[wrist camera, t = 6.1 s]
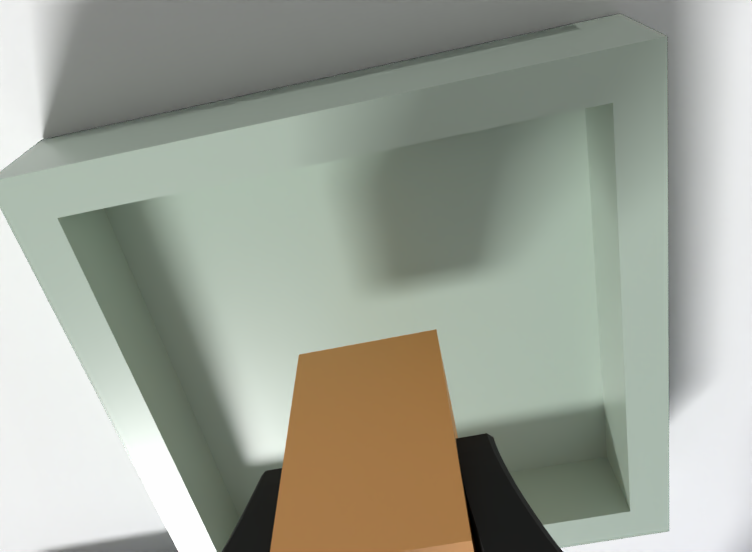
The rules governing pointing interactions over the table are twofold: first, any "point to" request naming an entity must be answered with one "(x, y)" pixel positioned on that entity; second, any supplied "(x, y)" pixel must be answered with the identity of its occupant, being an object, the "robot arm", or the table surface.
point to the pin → (372, 453)
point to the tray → (380, 267)
